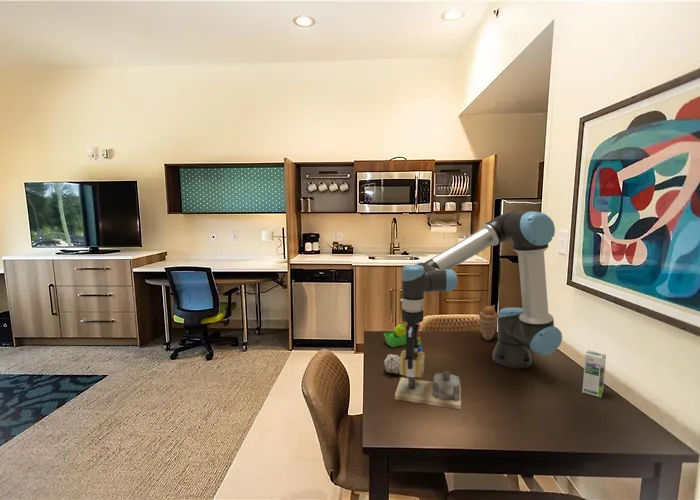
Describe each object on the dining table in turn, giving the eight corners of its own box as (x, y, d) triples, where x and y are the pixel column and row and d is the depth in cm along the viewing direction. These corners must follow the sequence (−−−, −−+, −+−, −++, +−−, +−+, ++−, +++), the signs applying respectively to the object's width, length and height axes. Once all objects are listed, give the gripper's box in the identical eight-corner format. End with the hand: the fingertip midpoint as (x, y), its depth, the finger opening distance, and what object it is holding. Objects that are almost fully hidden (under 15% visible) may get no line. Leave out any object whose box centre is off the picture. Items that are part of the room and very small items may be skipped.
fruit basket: (402, 339, 173) (402, 317, 171) (412, 345, 165) (413, 323, 163) (383, 343, 168) (382, 321, 167) (392, 350, 160) (392, 326, 159)
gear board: (460, 389, 125) (461, 366, 124) (460, 409, 113) (461, 384, 112) (400, 381, 132) (400, 358, 131) (394, 399, 120) (394, 374, 118)
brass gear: (402, 364, 128) (402, 349, 128) (424, 367, 126) (424, 351, 125) (398, 375, 120) (398, 358, 120) (422, 378, 118) (422, 361, 117)
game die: (396, 380, 140) (410, 360, 140) (392, 382, 132) (407, 361, 132) (379, 365, 143) (393, 346, 143) (374, 367, 135) (389, 346, 136)
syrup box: (581, 392, 122) (584, 353, 120) (584, 386, 127) (587, 348, 125) (601, 398, 119) (605, 358, 117) (603, 391, 123) (606, 352, 121)
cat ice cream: (496, 338, 173) (498, 303, 171) (497, 343, 166) (499, 307, 163) (478, 335, 176) (479, 301, 174) (478, 341, 169) (479, 306, 167)
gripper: (406, 300, 131) (405, 357, 134) (396, 317, 111) (396, 383, 114) (426, 302, 129) (425, 359, 132) (420, 319, 109) (419, 386, 112)
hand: (411, 370), depth 123 cm, fingers closed on brass gear, 8 cm apart
